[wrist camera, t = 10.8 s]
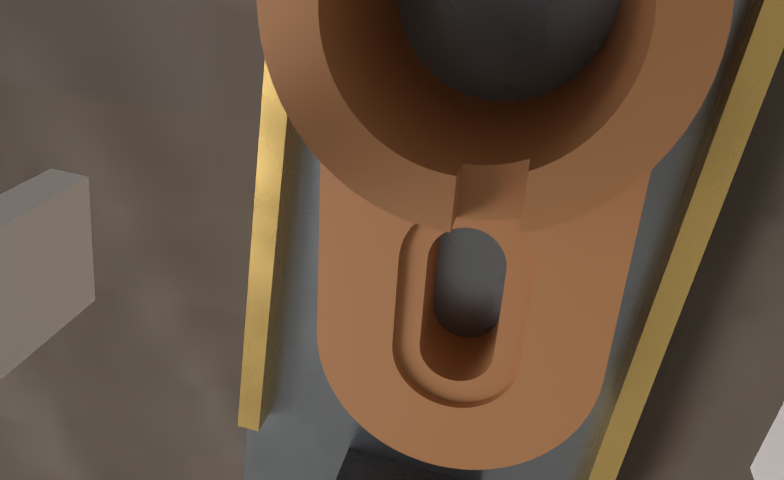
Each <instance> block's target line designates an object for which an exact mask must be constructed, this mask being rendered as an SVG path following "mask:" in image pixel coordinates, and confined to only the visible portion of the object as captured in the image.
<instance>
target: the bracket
mask: <svg viewBox="0 0 784 480" xmlns="http://www.w3.org/2000/svg"><path fill="white" fill-rule="evenodd" d="M733 7H734V0H620V5H619V9H618V12H617V16H616V19H615V21H614V24H613V26H612V29H611V31H610V33H609V35H608V37H607V39H606V40H605V42H604V44H603V45H602V47H601V48H600V50H599V51H598V53H597V54H596V55H595V56H594V58H593V59H592V60H591V61H590V62H589V63H588V64H587V65H586V66H585V67H584V68H583V69H582V70H581V71H580V72H579V73H578V74H577V75H575V76H574V77H573V78H572V79H570V80H569V81H567V82H566V83H564V84H563V85H561V86H559V87H557V88H555V89H553V90H551V91H549V92H547V93H544V94H542V95H539V96H536V97H532V98H528V99H523V100H517V101H491V100H485V99H480V98H476V97H473V96H469V95H467V94H464V93H462V92H459V91H458V90H456V89H454V88H452V87H450V86H448V85H447V84H446V83H444V82H443V81H441V80H440V79H439V78H437V77H436V76H435V75H434V74H433V73H432V72H431V71H430V70H429V69H428V68H427V67H426V66H425V65H424V64H423V63H422V61H421V60H420V59H419V57H418V56H417V55H416V53H415V51H414V50H413V48H412V46H411V45H410V43H409V40H408V38H407V36H406V34H405V31H404V28H403V25H402V22H401V18H400V14H399V9H398V2H397V0H257V15H258V23H259V32H260V38H261V43H262V48H263V52H264V57H265V61H266V64H267V67H268V71H269V74H270V77H271V80H272V83H273V85H274V88H275V90H276V93H277V95H278V97H279V100H280V102H281V104H282V106H283V108H284V110H285V112H286V114H287V115H288V117H289V119H290V121H291V123H292V125H293V126H294V128H295V129H296V131H297V132H298V134H299V135H300V136H301V138H302V139H303V141H304V142H305V144H306V145H307V146H308V148H309V149H310V150H311V151H312V152H313V154H314V155H315V156H316V157H317V158H318V160H319V161H320V206H319V254H318V302H317V344H318V350H319V356H320V360H321V363H322V367H323V370H324V373H325V375H326V378H327V380H328V382H329V384H330V386H331V388H332V390H333V392H334V393H335V395H336V396H337V398H338V400H339V401H340V403H341V404H342V405H343V407H344V408H345V409H346V410H347V411H348V413H349V414H350V415H351V416H352V417H353V418H354V419H355V420H356V421H357V422H358V423H359V424H360V425H361V426H362V427H363V428H364V429H366V430H367V431H368V432H369V433H370V434H372V435H373V436H374V437H376V438H377V439H379V440H380V441H381V442H383V443H385V444H386V445H388V446H390V447H391V448H393V449H395V450H397V451H399V452H401V453H403V454H405V455H407V456H410V457H412V458H415V459H418V460H420V461H423V462H427V463H430V464H434V465H438V466H443V467H448V468H456V469H466V470H484V469H496V468H503V467H508V466H512V465H516V464H520V463H523V462H526V461H529V460H532V459H534V458H536V457H539V456H541V455H543V454H545V453H547V452H549V451H550V450H552V449H554V448H555V447H557V446H558V445H560V444H561V443H562V442H564V441H565V440H566V439H567V438H569V437H570V436H571V435H572V434H573V433H574V432H575V431H576V430H577V429H578V428H579V427H580V426H581V424H582V423H583V422H584V421H585V419H586V418H587V417H588V415H589V413H590V412H591V410H592V408H593V407H594V405H595V403H596V400H597V398H598V396H599V394H600V391H601V387H602V384H603V381H604V376H605V372H606V367H607V363H608V359H609V354H610V350H611V345H612V341H613V337H614V332H615V328H616V323H617V319H618V315H619V310H620V306H621V302H622V297H623V293H624V288H625V284H626V280H627V275H628V271H629V266H630V262H631V258H632V253H633V249H634V245H635V240H636V236H637V231H638V227H639V223H640V218H641V214H642V209H643V205H644V201H645V196H646V192H647V187H648V183H649V179H650V174H651V170H652V169H653V168H654V167H655V165H656V164H657V163H658V162H659V161H660V160H661V159H662V158H663V157H664V156H665V155H666V154H667V153H668V152H669V151H670V150H671V149H672V147H673V146H674V145H675V143H676V142H677V141H678V140H679V138H680V137H681V136H682V135H683V133H684V132H685V131H686V130H687V128H688V126H689V125H690V123H691V122H692V120H693V119H694V117H695V115H696V114H697V112H698V111H699V109H700V107H701V106H702V104H703V102H704V100H705V98H706V96H707V94H708V92H709V90H710V88H711V86H712V84H713V82H714V79H715V76H716V74H717V71H718V68H719V66H720V63H721V60H722V58H723V55H724V51H725V47H726V43H727V39H728V35H729V31H730V27H731V20H732V13H733ZM456 228H474V229H478V230H480V231H483V232H485V233H487V234H488V235H490V236H491V237H493V238H494V239H495V240H496V241H497V242H498V243H499V245H500V246H501V248H502V250H503V252H504V254H505V257H506V262H507V268H506V276H505V283H504V290H503V297H502V303H501V310H500V317H499V321H498V323H497V324H496V326H495V327H494V328H493V329H492V330H491V331H490V332H488V333H486V334H485V335H482V336H479V337H474V338H465V337H460V336H457V335H454V334H452V333H450V332H448V331H447V330H446V329H444V328H443V327H442V326H441V325H440V323H439V322H438V320H437V319H436V316H435V314H434V309H433V302H434V292H435V282H436V272H437V262H438V252H439V242H440V235H442V234H443V233H445V232H450V233H451V230H452V229H456Z"/></svg>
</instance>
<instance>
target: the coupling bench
mask: <svg viewBox="0 0 784 480" xmlns="http://www.w3.org/2000/svg"><path fill="white" fill-rule="evenodd" d="M397 2H398V9H399V14H400V18H401V22H402V25H403V28H404V31H405V34H406V36H407V38H408V40H409V43H410V45H411V46H412V48H413V50H414V51H415V53H416V55H417V56H418V57H419V59H420V60H421V61H422V63H423V64H424V65H425V66H426V67H427V68H428V69H429V70H430V71H431V72H432V73H433V74H434V75H435V76H436V77H437V78H439V79H440V80H441V81H443V82H444V83H446V84H447V85H448V86H450V87H452V88H454V89H456V90H458V91H459V92H462V93H464V94H467V95H469V96H473V97H476V98H480V99H485V100H491V101H517V100H523V99H528V98H532V97H536V96H539V95H542V94H544V93H547V92H549V91H551V90H553V89H555V88H557V87H559V86H561V85H563V84H564V83H566V82H567V81H569V80H570V79H572V78H573V77H574V76H575V75H577V74H578V73H579V72H580V71H581V70H582V69H583V68H584V67H585V66H586V65H587V64H588V63H589V62H590V61H591V60H592V59H593V58H594V56H595V55H596V54H597V53H598V51H599V50H600V48H601V47H602V45H603V44H604V42H605V40H606V39H607V37H608V35H609V33H610V31H611V29H612V26H613V24H614V21H615V19H616V16H617V12H618V9H619V5H620V0H397ZM783 48H784V0H734V7H733V13H732V20H731V27H730V31H729V35H728V39H727V43H726V47H725V51H724V55H723V58H722V60H721V63H720V66H719V68H718V71H717V74H716V76H715V79H714V82H713V84H712V86H711V88H710V90H709V92H708V94H707V96H706V98H705V100H704V102H703V104H702V106H701V107H700V109H699V111H698V112H697V114H696V115H695V117H694V119H693V120H692V122H691V123H690V125H689V126H688V128H687V130H686V131H685V132H684V133H683V135H682V136H681V137H680V138H679V140H678V141H677V142H676V143H675V145H674V146H673V147H672V149H671V150H670V151H669V152H668V153H667V154H666V155H665V156H664V157H663V158H662V159H661V160H660V161H659V162H658V163H657V164H656V165H655V167H654V168H653V169H652V170H651V174H650V179H649V183H648V187H647V192H646V196H645V201H644V205H643V209H642V214H641V218H640V223H639V227H638V231H637V236H636V240H635V245H634V249H633V253H632V258H631V262H630V266H629V271H628V275H627V280H626V284H625V288H624V293H623V297H622V302H621V306H620V310H619V315H618V319H617V323H616V328H615V332H614V337H613V341H612V345H611V350H610V354H609V359H608V363H607V367H606V372H605V376H604V381H603V384H602V387H601V391H600V394H599V396H598V398H597V400H596V403H595V405H594V407H593V408H592V410H591V412H590V413H589V415H588V417H587V418H586V419H585V421H584V422H583V423H582V424H581V426H580V427H579V428H578V429H577V430H576V431H575V432H574V433H573V434H572V435H571V436H570V437H569V438H567V439H566V440H565V441H564V442H562V443H561V444H560V445H558V446H557V447H555V448H554V449H552V450H550V451H549V452H547V453H545V454H543V455H541V456H539V457H536V458H534V459H532V460H529V461H526V462H523V463H520V464H516V465H512V466H508V467H503V468H496V469H484V470H466V469H456V468H448V467H443V466H438V465H434V464H430V463H427V462H423V461H420V460H418V459H415V458H412V457H410V456H407V455H405V454H403V453H401V452H399V451H397V450H395V449H393V448H391V447H390V446H388V445H386V444H385V443H383V442H381V441H380V440H379V439H377V438H376V437H374V436H373V435H372V434H370V433H369V432H368V431H367V430H366V429H364V428H363V427H362V426H361V425H360V424H359V423H358V422H357V421H356V420H355V419H354V418H353V417H352V416H351V415H350V414H349V413H348V411H347V410H346V409H345V408H344V407H343V405H342V404H341V403H340V401H339V400H338V398H337V396H336V395H335V393H334V392H333V390H332V388H331V386H330V384H329V382H328V380H327V378H326V375H325V373H324V370H323V367H322V363H321V360H320V356H319V350H318V344H317V302H318V254H319V206H320V161H319V160H318V158H317V157H316V156H315V155H314V154H313V152H312V151H311V150H310V149H309V148H308V146H307V145H306V144H305V142H304V141H303V139H302V138H301V136H300V135H299V134H298V132H297V131H296V129H295V128H294V126H293V125H292V123H291V121H290V119H289V117H288V115H287V114H286V112H285V110H284V108H283V106H282V104H281V102H280V100H279V97H278V95H277V93H276V90H275V88H274V85H273V83H272V80H271V77H270V74H269V71H268V67H267V64H266V61H265V66H264V79H263V93H262V106H261V119H260V133H259V146H258V160H257V173H256V187H255V200H254V214H253V227H252V241H251V254H250V268H249V281H248V295H247V308H246V321H245V335H244V348H243V362H242V375H241V389H240V402H239V416H238V426H241V427H244V428H247V437H246V449H245V461H244V473H243V480H616V477H617V475H618V472H619V470H620V467H621V465H622V462H623V459H624V457H625V454H626V452H627V449H628V447H629V444H630V441H631V439H632V436H633V434H634V431H635V429H636V426H637V423H638V421H639V418H640V416H641V413H642V411H643V408H644V405H645V403H646V400H647V398H648V395H649V393H650V390H651V387H652V385H653V382H654V380H655V377H656V375H657V372H658V369H659V367H660V364H661V362H662V359H663V357H664V354H665V351H666V349H667V346H668V344H669V341H670V339H671V336H672V333H673V331H674V328H675V326H676V323H677V321H678V318H679V315H680V313H681V310H682V308H683V305H684V303H685V300H686V298H687V295H688V292H689V290H690V287H691V285H692V282H693V280H694V277H695V274H696V272H697V269H698V267H699V264H700V262H701V259H702V256H703V254H704V251H705V249H706V246H707V244H708V241H709V238H710V236H711V233H712V231H713V228H714V226H715V223H716V220H717V218H718V215H719V213H720V210H721V208H722V205H723V202H724V200H725V197H726V195H727V192H728V190H729V187H730V184H731V182H732V179H733V177H734V174H735V172H736V169H737V166H738V164H739V161H740V159H741V156H742V154H743V151H744V149H745V146H746V143H747V141H748V138H749V136H750V133H751V131H752V128H753V125H754V123H755V120H756V118H757V115H758V113H759V110H760V107H761V105H762V102H763V100H764V97H765V95H766V92H767V89H768V87H769V84H770V82H771V79H772V77H773V74H774V71H775V69H776V66H777V64H778V61H779V59H780V56H781V53H782V51H783ZM506 268H507V262H506V257H505V254H504V252H503V250H502V248H501V246H500V245H499V243H498V242H497V241H496V240H495V239H494V238H493V237H491V236H490V235H488V234H487V233H485V232H483V231H480V230H478V229H474V228H456V229H452V230H451V233H450V232H445V233H443V234H442V235H440V242H439V252H438V262H437V272H436V282H435V292H434V302H433V309H434V314H435V316H436V319H437V320H438V322H439V323H440V325H441V326H442V327H443V328H444V329H446V330H447V331H448V332H450V333H452V334H454V335H457V336H460V337H465V338H474V337H479V336H482V335H485V334H486V333H488V332H490V331H491V330H492V329H493V328H494V327H495V326H496V324H497V323H498V321H499V317H500V310H501V303H502V297H503V290H504V283H505V276H506Z"/></svg>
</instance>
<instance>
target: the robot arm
mask: <svg viewBox="0 0 784 480" xmlns="http://www.w3.org/2000/svg"><path fill="white" fill-rule="evenodd" d="M93 301H95V291H94V272H93V253H92V234H91V215H90V196H89V178H88V177H86V176H82V175H78V174H73V173H69V172H65V171H61V170H56V169H52V168H51V169H49V170H47V171H46V172H44V173H42V174H40V175H38V176H36V177H34V178H32V179H30V180H28V181H26V182H24V183H22V184H20V185H18V186H16V187H14V188H12V189H10V190H8V191H6V192H4V193H2V194H0V380H1V379H2V378H3V377H4V376H6V375H7V374H8V373H9V372H10V371H12V370H13V369H14V368H15V367H16V366H17V365H19V364H20V363H21V362H22V361H23V360H25V359H26V358H27V357H28V356H29V355H31V354H32V353H33V352H34V351H35V350H36V349H38V348H39V347H40V346H41V345H42V344H44V343H45V342H46V341H47V340H48V339H50V338H51V337H52V336H53V335H54V334H55V333H57V332H58V331H59V330H60V329H61V328H63V327H64V326H65V325H66V324H67V323H68V322H70V321H71V320H72V319H73V318H74V317H76V316H77V315H78V314H79V313H80V312H82V311H83V310H84V309H85V308H86V307H87V306H89V305H90V304H91V303H92V302H93ZM750 469H751V472H752V475H753V478H754V480H784V403H783V405H782V407H781V409H780V411H779V413H778V415H777V417H776V419H775V421H774V422H773V424H772V426H771V428H770V430H769V432H768V434H767V436H766V438H765V440H764V442H763V444H762V446H761V448H760V450H759V452H758V454H757V455H756V457H755V459H754V461H753V463H752V465H751V467H750Z"/></svg>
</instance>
